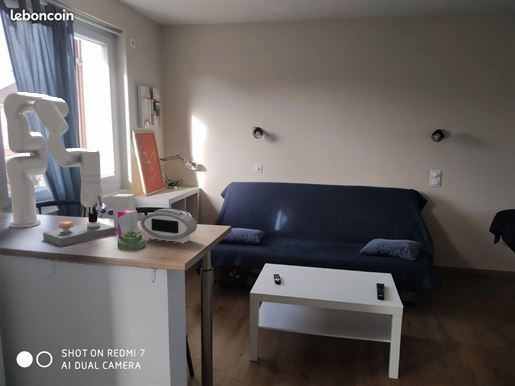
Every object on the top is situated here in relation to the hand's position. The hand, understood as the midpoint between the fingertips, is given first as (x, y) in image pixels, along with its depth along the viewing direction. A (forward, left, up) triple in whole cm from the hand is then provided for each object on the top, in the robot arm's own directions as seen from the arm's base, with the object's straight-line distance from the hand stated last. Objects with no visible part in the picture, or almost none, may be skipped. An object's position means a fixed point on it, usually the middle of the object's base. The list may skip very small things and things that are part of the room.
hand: (93, 221), depth 176 cm
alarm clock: (+31, +15, -6) cm, 35 cm away
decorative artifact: (+28, 0, -6) cm, 28 cm away
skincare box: (+2, +14, -6) cm, 15 cm away
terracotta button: (0, -12, -3) cm, 12 cm away
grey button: (0, 0, -5) cm, 5 cm away
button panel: (0, -6, -5) cm, 8 cm away
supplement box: (+16, +6, -6) cm, 18 cm away
